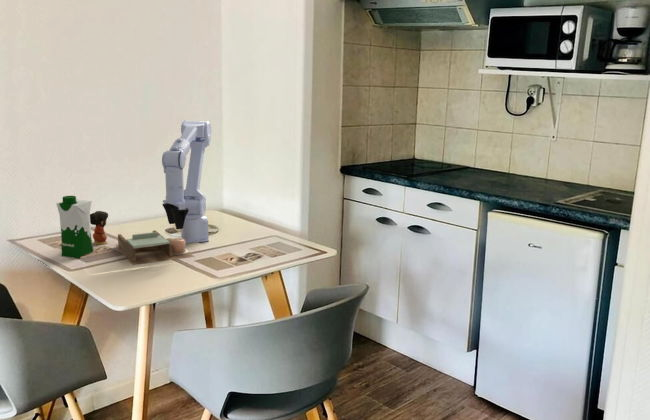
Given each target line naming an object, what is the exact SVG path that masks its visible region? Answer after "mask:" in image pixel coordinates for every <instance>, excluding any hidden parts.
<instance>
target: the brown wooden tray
mask: <svg viewBox="0 0 650 420" xmlns="http://www.w3.org/2000/svg"><path fill="white" fill-rule="evenodd" d="M152 232H157V236H158V235H161V234H160V233H159V232H158V231H157V230H155V229H154V230H152ZM166 239H167V240H168V241H169V244H163V245H155V246H147V247H139V248H133V247H132V246H131V245H130V244H129V243H128V242H127V238H125V237H124V236H123V235H122V234H121V233H119V234H117V241H118V242H117V244H115V247H116V248H118V250H119V251H120V252H121V254H122V255H124V257H125V258H126V259H127V260H128V261H129V262H130V264H131V265H133V266H137V265H142V264H150V263H151V264H152V263H157V262H164V261H166V262H167V261H171V260H172V261H173V260H180V259H187V258H193V257H194V258H195V255H193V254H192V253H191V252H190V251H189V250H188V249H186V248H185V250H186V251H185V252H184V253H173V246H172V244H171V239H173V238H172V237H171V238H166Z"/></svg>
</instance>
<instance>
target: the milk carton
mask: <svg viewBox="0 0 650 420" xmlns="http://www.w3.org/2000/svg"><path fill="white" fill-rule="evenodd" d="M55 204H56V207H57V211H58V214H59V222H60V223H59V224H60V226H59V227H60V238H61V240H60V241H61V256H62V257H66V258H73V259H82V258H81V257H83V256H86V255H89V254H91V253H94V246H93V241H92V229H91V228H92V227H91V223H90V214H91V208H92V200H86V199H77V196H75V195H65V196H62V201H60V202H56V203H55Z"/></svg>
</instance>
